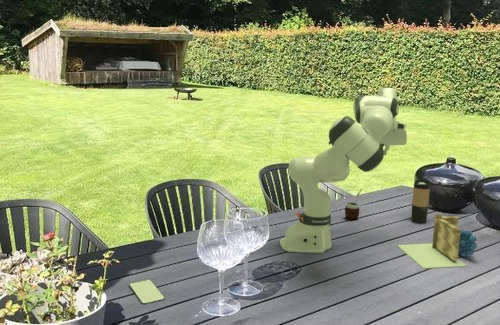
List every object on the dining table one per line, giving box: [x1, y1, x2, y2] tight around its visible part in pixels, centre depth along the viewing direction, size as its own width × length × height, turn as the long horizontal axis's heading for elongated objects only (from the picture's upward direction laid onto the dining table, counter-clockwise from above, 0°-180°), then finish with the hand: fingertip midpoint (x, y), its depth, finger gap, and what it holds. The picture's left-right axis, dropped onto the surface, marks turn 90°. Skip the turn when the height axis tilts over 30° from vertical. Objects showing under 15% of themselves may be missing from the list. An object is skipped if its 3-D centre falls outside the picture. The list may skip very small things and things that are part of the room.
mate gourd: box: [344, 188, 363, 222], centre depth 255 cm, size 8×8×15 cm
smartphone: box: [129, 279, 166, 305], centre depth 176 cm, size 8×1×16 cm
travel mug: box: [410, 180, 431, 225], centre depth 252 cm, size 8×8×20 cm
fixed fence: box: [432, 214, 460, 249], centre depth 218 cm, size 10×2×15 cm, turn 99°
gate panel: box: [436, 219, 462, 261], centre depth 209 cm, size 14×2×13 cm, turn 10°
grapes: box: [458, 229, 478, 258], centre depth 210 cm, size 12×7×12 cm, turn 22°
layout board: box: [396, 242, 467, 270], centre depth 211 cm, size 18×24×1 cm
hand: (382, 155), depth 228 cm, fingers closed
